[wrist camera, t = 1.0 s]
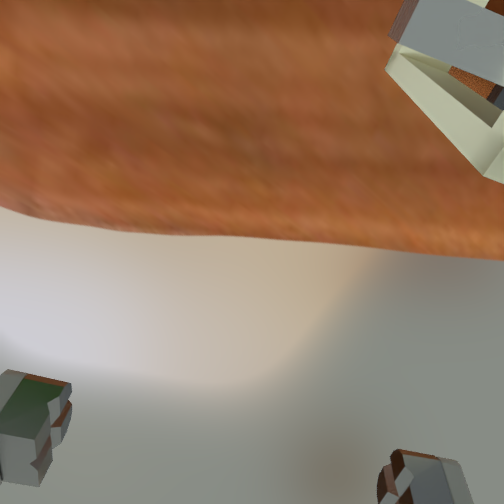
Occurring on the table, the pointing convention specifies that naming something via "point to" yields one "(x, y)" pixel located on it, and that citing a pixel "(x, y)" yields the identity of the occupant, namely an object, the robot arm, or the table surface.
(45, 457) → the robot arm
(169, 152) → the table surface
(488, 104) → the c-shaped bracket
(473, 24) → the hook stand
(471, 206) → the table surface
